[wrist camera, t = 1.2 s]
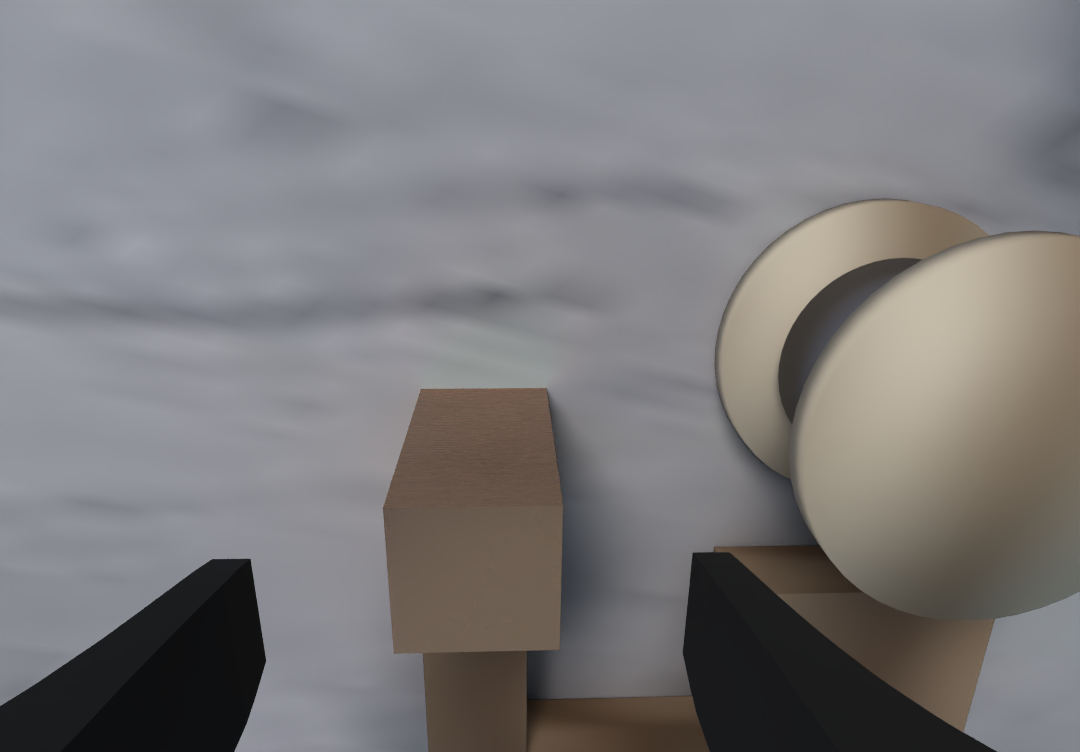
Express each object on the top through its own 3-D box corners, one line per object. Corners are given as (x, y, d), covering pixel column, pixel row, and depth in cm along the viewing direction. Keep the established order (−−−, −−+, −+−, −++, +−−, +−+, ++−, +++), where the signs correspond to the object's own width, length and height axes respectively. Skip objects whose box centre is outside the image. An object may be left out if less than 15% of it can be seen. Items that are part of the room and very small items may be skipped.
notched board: (437, 729, 20) (430, 790, 19) (429, 551, 18) (419, 600, 17) (911, 717, 21) (951, 775, 19) (953, 543, 19) (1002, 589, 17)
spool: (702, 479, 18) (780, 624, 13) (730, 197, 16) (839, 236, 11) (969, 476, 18) (1150, 617, 13) (1037, 199, 16) (1290, 238, 11)
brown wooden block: (426, 499, 18) (393, 653, 13) (421, 388, 17) (382, 507, 12) (545, 497, 18) (559, 650, 13) (546, 388, 17) (563, 505, 12)
